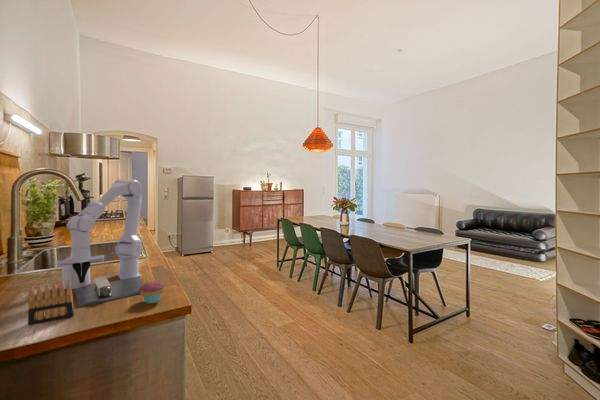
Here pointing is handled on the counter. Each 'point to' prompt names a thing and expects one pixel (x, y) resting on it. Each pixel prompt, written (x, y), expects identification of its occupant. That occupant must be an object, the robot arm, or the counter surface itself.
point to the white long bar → (102, 286)
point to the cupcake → (152, 290)
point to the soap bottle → (69, 271)
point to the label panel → (119, 290)
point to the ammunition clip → (50, 304)
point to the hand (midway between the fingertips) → (81, 282)
